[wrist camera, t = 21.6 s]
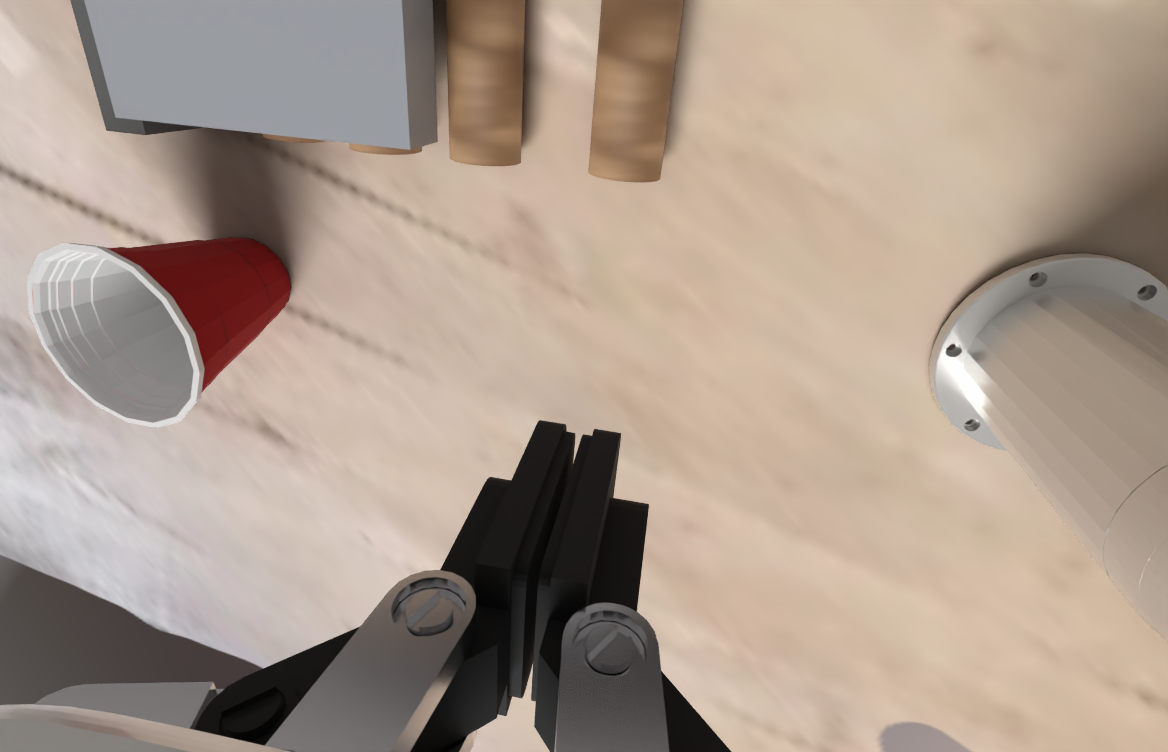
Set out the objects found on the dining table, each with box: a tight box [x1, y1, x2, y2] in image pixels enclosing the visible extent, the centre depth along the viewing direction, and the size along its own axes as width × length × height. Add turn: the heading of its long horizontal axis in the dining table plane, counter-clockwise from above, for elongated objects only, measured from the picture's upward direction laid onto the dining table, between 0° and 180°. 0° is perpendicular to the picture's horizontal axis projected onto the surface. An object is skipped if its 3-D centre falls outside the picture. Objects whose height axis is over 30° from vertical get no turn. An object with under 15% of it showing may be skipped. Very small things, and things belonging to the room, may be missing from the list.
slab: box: [84, 0, 438, 150], centre depth 29 cm, size 16×10×4 cm, turn 85°
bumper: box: [71, 0, 204, 135], centre depth 33 cm, size 2×12×6 cm, turn 175°
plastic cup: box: [27, 237, 291, 428], centre depth 38 cm, size 11×11×12 cm
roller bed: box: [349, 0, 684, 182], centre depth 31 cm, size 18×12×4 cm, turn 85°
